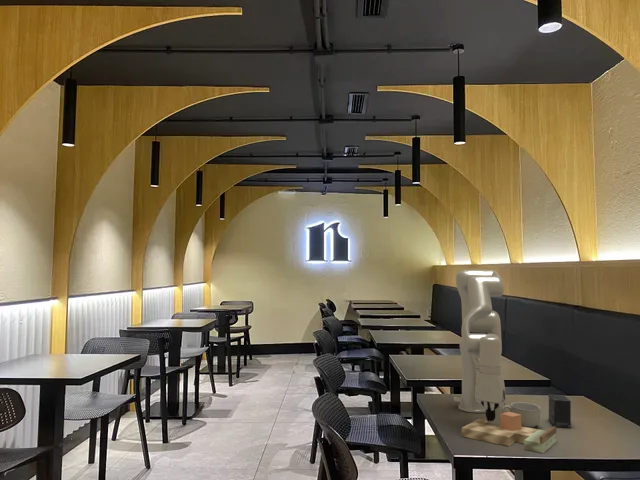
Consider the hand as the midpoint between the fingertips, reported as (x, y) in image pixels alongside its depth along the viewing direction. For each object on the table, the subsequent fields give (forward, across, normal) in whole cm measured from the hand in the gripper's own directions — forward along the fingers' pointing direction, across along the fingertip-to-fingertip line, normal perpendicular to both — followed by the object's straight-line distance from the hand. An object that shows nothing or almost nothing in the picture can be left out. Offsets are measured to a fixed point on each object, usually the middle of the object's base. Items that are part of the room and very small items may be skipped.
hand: (490, 420), depth 199 cm
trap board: (+4, +8, -4) cm, 10 cm away
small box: (+4, +17, +28) cm, 33 cm away
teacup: (+4, +6, +16) cm, 18 cm away
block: (+1, +8, -1) cm, 8 cm away
